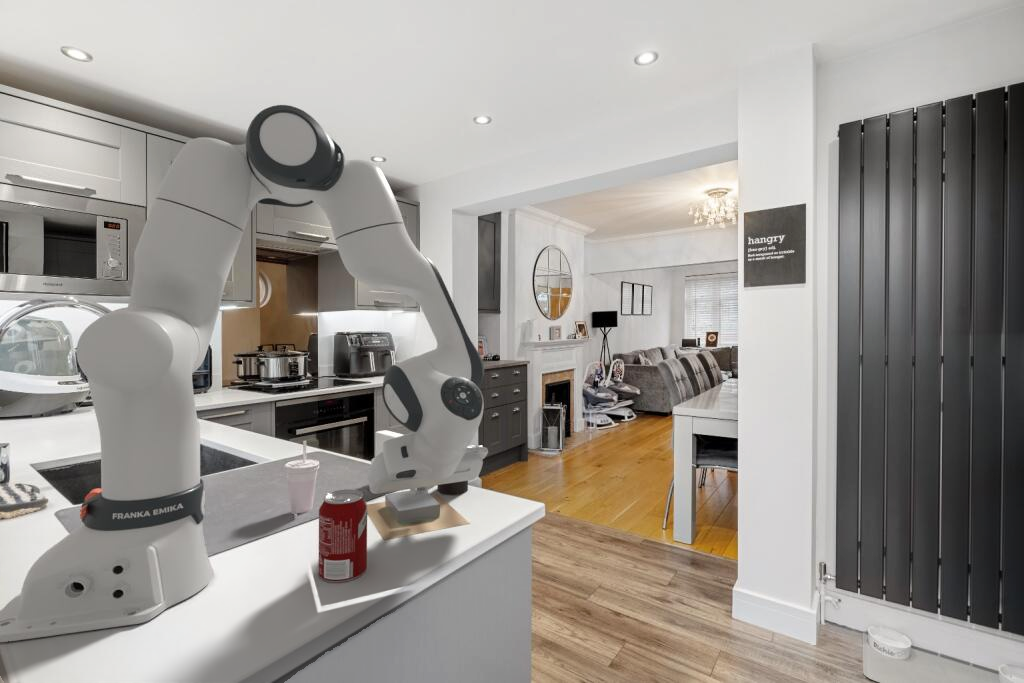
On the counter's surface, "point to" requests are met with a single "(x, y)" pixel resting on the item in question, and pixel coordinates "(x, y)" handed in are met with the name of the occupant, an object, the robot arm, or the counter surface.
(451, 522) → the mat
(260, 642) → the counter surface
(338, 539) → the soda can
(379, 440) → the cylinder with rectangular tab
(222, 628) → the counter surface
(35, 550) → the counter surface
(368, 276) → the robot arm
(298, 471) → the smoothie
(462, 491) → the bottle
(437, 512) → the tile
